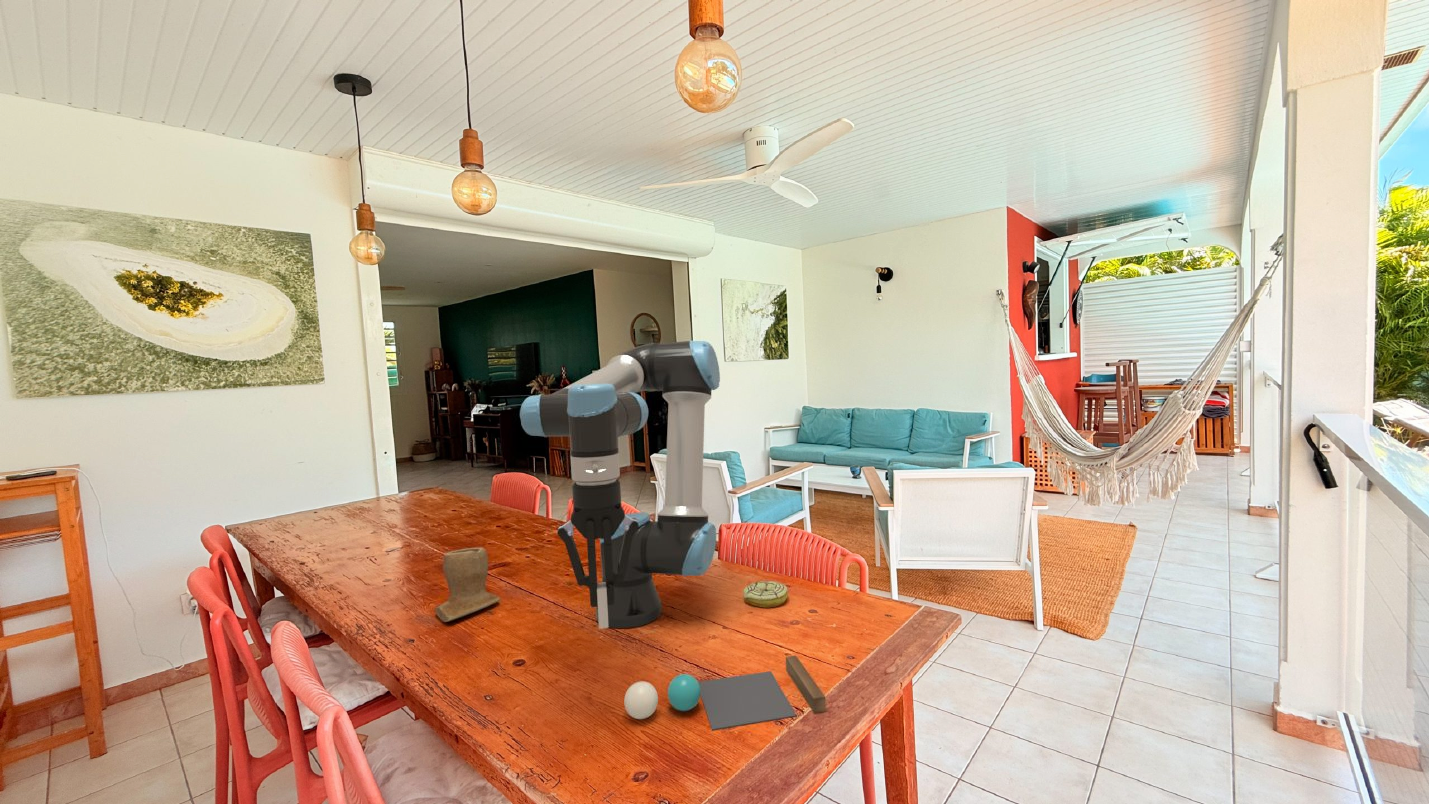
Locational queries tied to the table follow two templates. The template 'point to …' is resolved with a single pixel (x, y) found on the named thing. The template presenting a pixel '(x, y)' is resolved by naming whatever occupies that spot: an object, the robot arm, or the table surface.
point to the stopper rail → (806, 684)
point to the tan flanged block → (465, 583)
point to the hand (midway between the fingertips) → (603, 624)
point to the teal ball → (684, 692)
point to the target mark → (744, 700)
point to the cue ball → (641, 700)
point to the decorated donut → (765, 594)
